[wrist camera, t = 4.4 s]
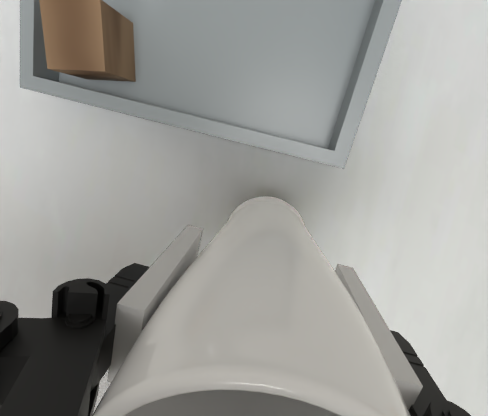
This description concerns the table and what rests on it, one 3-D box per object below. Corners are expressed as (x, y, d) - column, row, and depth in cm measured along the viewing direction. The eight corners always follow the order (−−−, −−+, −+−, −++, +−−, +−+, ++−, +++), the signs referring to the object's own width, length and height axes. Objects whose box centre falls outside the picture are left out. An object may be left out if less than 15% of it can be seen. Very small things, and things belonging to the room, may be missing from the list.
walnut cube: (87, 79, 22) (47, 69, 18) (82, 21, 21) (38, -3, 17) (135, 81, 22) (105, 71, 18) (133, 23, 21) (100, -2, 17)
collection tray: (52, 92, 23) (19, 87, 20) (60, -120, 19) (20, -165, 16) (335, 163, 22) (344, 168, 19) (405, -47, 18) (429, -82, 15)
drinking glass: (264, 161, 18) (234, 282, 4) (337, 232, 19) (555, 566, 4) (196, 232, 20) (-8, 505, 5) (266, 294, 20) (253, 682, 6)
